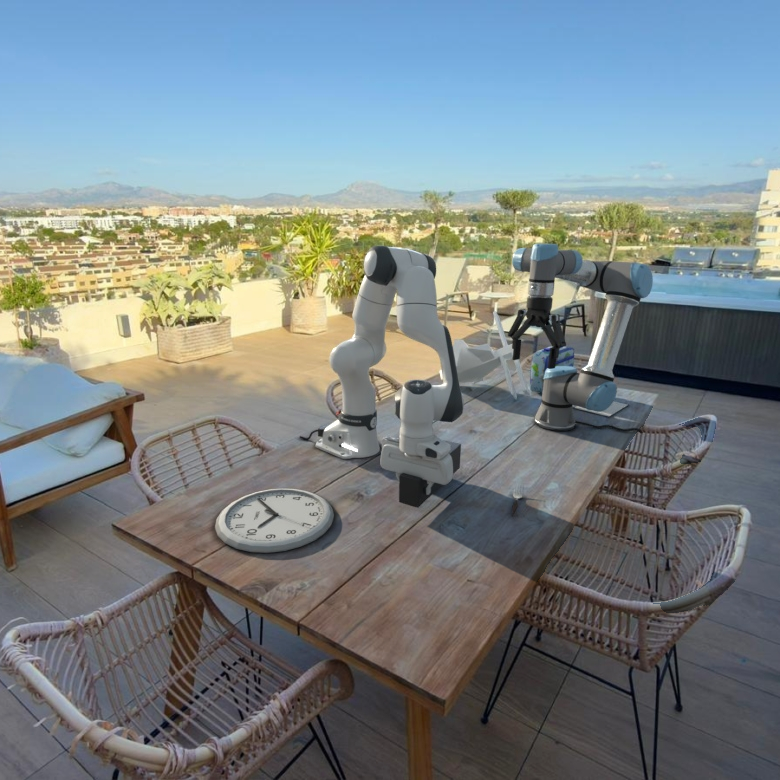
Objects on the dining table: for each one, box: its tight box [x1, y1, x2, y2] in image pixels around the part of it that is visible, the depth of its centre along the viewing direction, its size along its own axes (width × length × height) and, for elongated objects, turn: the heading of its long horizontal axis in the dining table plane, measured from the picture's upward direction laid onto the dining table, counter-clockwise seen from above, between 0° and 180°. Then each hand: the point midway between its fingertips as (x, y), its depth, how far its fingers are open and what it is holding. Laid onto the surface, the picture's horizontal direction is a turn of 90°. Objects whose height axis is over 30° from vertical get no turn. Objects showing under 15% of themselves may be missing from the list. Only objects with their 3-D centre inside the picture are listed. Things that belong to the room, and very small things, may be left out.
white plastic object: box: [438, 310, 531, 400], centre depth 245 cm, size 37×45×31 cm
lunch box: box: [529, 345, 575, 394], centre depth 245 cm, size 26×11×21 cm, turn 134°
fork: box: [511, 484, 525, 517], centre depth 145 cm, size 3×16×2 cm, turn 160°
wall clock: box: [214, 488, 335, 554], centre depth 135 cm, size 30×2×30 cm
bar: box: [398, 439, 462, 509], centre depth 148 cm, size 28×6×8 cm, turn 150°
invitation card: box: [573, 400, 629, 418], centre depth 226 cm, size 21×1×15 cm
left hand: (414, 490), depth 140 cm, fingers closed on bar, 6 cm apart
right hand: (533, 363), depth 165 cm, fingers open, 13 cm apart
